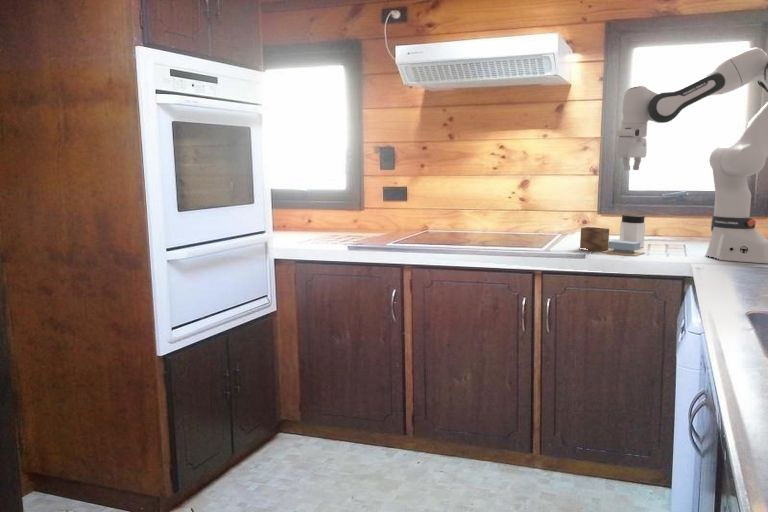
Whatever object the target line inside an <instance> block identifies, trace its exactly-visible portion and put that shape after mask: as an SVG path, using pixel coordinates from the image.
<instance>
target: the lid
mask: <svg viewBox="0 0 768 512" xmlns="http://www.w3.org/2000/svg"><path fill="white" fill-rule="evenodd" d="M608 249H614V252H623V253H634V251H637V250H641V248H640V242H631V241H620V239H614V240H609V244H608Z"/></svg>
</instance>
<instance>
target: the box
mask: <svg viewBox="0 0 768 512" xmlns="http://www.w3.org/2000/svg"><path fill="white" fill-rule="evenodd" d="M609 241H610V228H606V227H605V228H604V227H592V226H585V227H581V228H580V240H579V243H580V244H579V249H580V248H586V249H588V250H589V252H590V251H591V252H598V253H599V252H600V253H602V252H603V251H607V250H610V248H608V245H609ZM588 250H587V251H588Z"/></svg>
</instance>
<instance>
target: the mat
mask: <svg viewBox="0 0 768 512" xmlns="http://www.w3.org/2000/svg"><path fill="white" fill-rule="evenodd" d="M601 253H602V254H610V255H611V254H612V255H619V256H620V255H622V256H630V257H631V256H632V257H638V256H641V255H644V254H645V253H646V252H644V251H637V250H635V251H634V253H623V252H614V249H611V248H609V250H607V251H603V252H601Z"/></svg>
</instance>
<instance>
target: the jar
mask: <svg viewBox="0 0 768 512" xmlns="http://www.w3.org/2000/svg"><path fill="white" fill-rule="evenodd" d="M645 229H646V222H645V215H643V214H634V213H633V214H631V213H630V214H622V215H621V221H620V228H619V240H620V241H631V242H640V249H642V248H644V247H645V246H644V245H645V234H646V233H645V232H646V231H645Z"/></svg>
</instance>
